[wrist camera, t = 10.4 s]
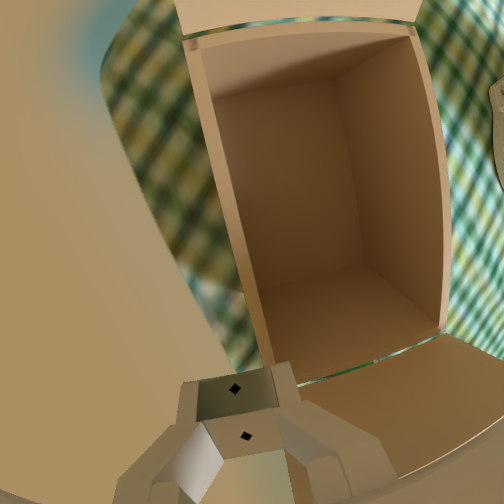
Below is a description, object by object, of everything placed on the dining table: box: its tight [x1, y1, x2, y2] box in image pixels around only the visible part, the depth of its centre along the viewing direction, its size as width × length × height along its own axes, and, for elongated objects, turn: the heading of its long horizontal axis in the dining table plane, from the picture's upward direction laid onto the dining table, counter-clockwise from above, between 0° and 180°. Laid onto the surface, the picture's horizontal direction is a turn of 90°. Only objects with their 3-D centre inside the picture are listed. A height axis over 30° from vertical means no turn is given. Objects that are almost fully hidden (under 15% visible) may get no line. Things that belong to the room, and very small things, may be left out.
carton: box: [182, 21, 451, 384], centre depth 18 cm, size 11×17×12 cm, turn 13°
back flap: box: [284, 333, 504, 504], centre depth 11 cm, size 11×8×1 cm
